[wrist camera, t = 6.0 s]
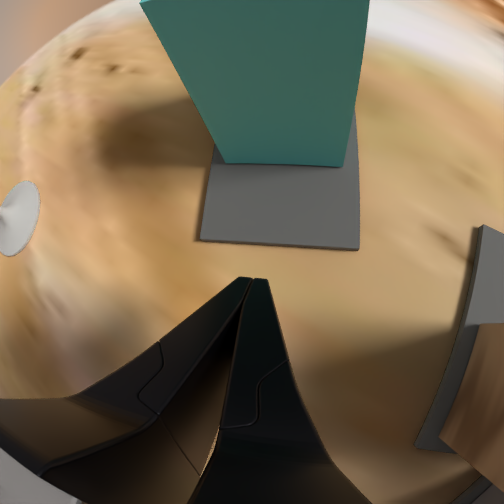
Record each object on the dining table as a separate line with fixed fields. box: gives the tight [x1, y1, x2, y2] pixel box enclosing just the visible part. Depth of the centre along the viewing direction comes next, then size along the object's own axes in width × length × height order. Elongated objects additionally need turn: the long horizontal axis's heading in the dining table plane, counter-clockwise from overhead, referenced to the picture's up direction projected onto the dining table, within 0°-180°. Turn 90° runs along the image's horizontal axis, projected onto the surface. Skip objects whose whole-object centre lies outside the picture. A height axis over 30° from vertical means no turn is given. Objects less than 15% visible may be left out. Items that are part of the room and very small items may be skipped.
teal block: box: [139, 0, 370, 167], centre depth 13 cm, size 7×7×12 cm
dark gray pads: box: [200, 107, 504, 504], centre depth 15 cm, size 18×44×1 cm, turn 39°
